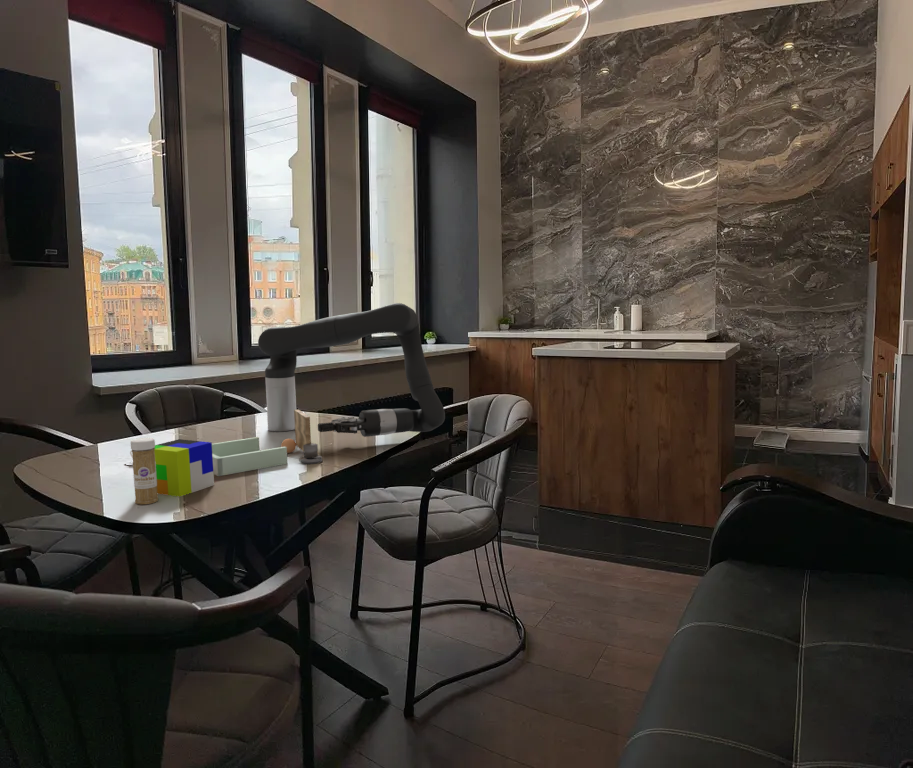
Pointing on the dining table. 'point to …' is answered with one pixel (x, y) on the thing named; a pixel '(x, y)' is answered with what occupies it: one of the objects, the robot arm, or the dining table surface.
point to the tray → (244, 456)
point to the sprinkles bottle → (144, 470)
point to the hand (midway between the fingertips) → (318, 427)
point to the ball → (289, 445)
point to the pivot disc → (311, 460)
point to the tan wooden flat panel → (304, 434)
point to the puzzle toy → (183, 467)
